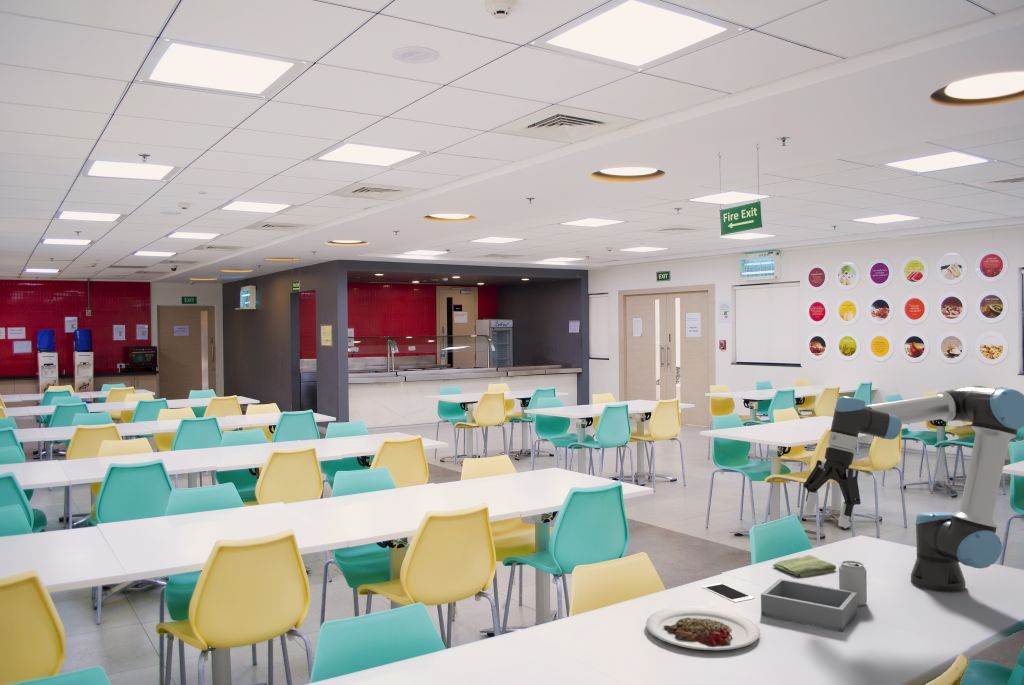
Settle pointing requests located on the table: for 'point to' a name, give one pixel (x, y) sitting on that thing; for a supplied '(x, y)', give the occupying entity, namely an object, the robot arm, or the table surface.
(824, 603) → the bin
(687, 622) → the plated food
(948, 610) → the table surface
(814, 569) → the washcloth
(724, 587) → the cell phone
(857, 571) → the can
